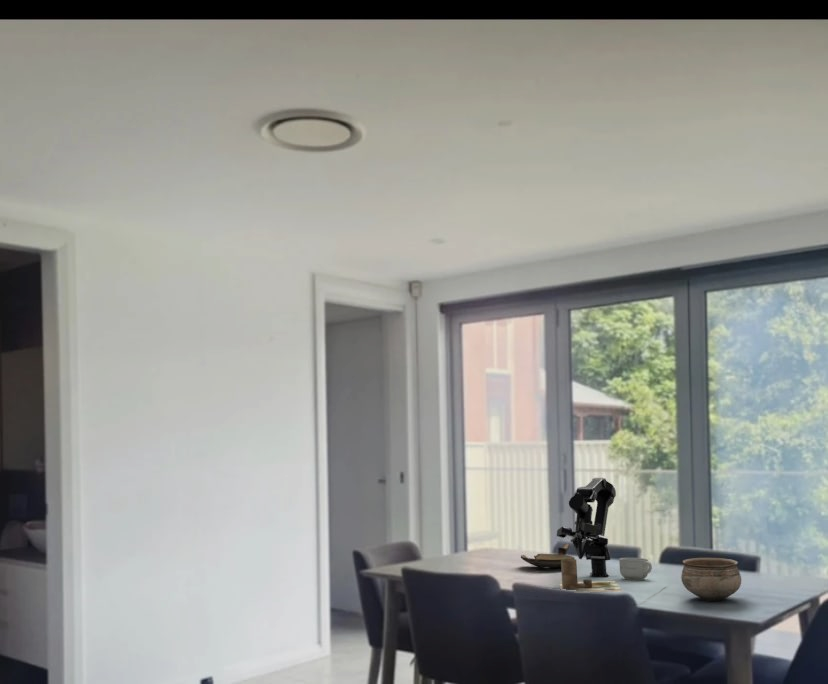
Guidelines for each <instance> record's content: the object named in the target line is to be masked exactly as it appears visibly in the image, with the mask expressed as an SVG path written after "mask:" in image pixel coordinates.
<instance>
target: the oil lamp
mask: <svg viewBox="0 0 828 684" xmlns="http://www.w3.org/2000/svg"><path fill="white" fill-rule="evenodd" d="M569 548H570V544H569V543H566V544H565V545H564V546H563V547H561V546H560V547H558V548H557V549H558V550H557V551H558V552H557V553H537V555H533V557H534V558H530V557H528V556H526V555H524V554H522V555H520V558H521V559H522V560H523V561H524V562H526V563H527V564H530V565H532V566H534V567H538V568H547V569H556V568H558V569H559V568H561V560H572V559H575V557H574V556H572V555H567V552H568V551H569Z"/></svg>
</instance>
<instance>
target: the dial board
mask: <svg viewBox="0 0 828 684" xmlns="http://www.w3.org/2000/svg"><path fill="white" fill-rule="evenodd" d="M597 582H610V585H600V586H592V587H591V588H573V589H566V590H576V591H589V592H588V593H618V592H619V593H623V592H624V591H623V590H622V588H621V587H620V586H619V584H618V583H617V581H616V580H610V581H608V580H607V581H606V580H604V581H592V583H597ZM580 583H583V581H578V584H580ZM558 585H559V587H560V588H559V589H560V590H561V589H562V581H558Z"/></svg>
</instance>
